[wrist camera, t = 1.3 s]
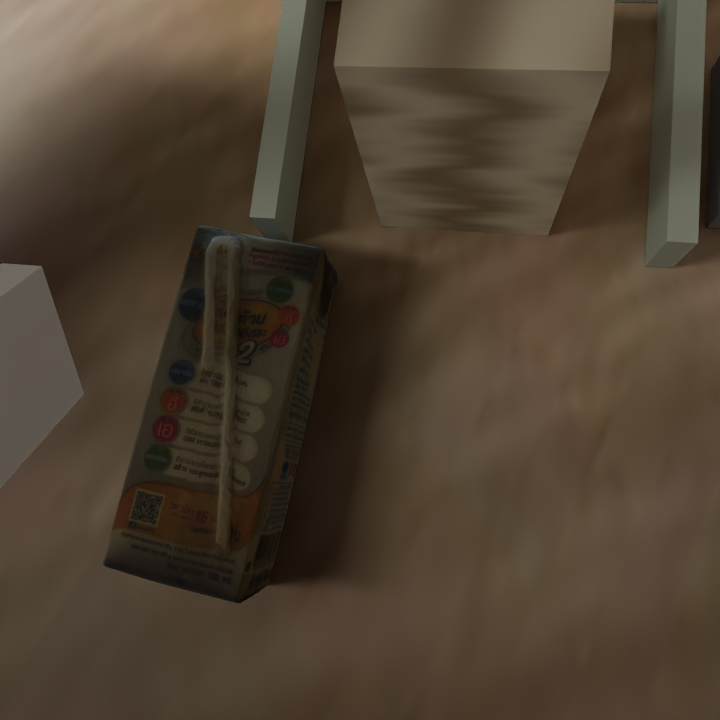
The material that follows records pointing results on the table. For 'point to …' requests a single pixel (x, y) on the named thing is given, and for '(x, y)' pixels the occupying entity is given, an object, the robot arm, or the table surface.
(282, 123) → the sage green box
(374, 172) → the birch block
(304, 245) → the beverage carton
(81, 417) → the table surface
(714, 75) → the rubber block
